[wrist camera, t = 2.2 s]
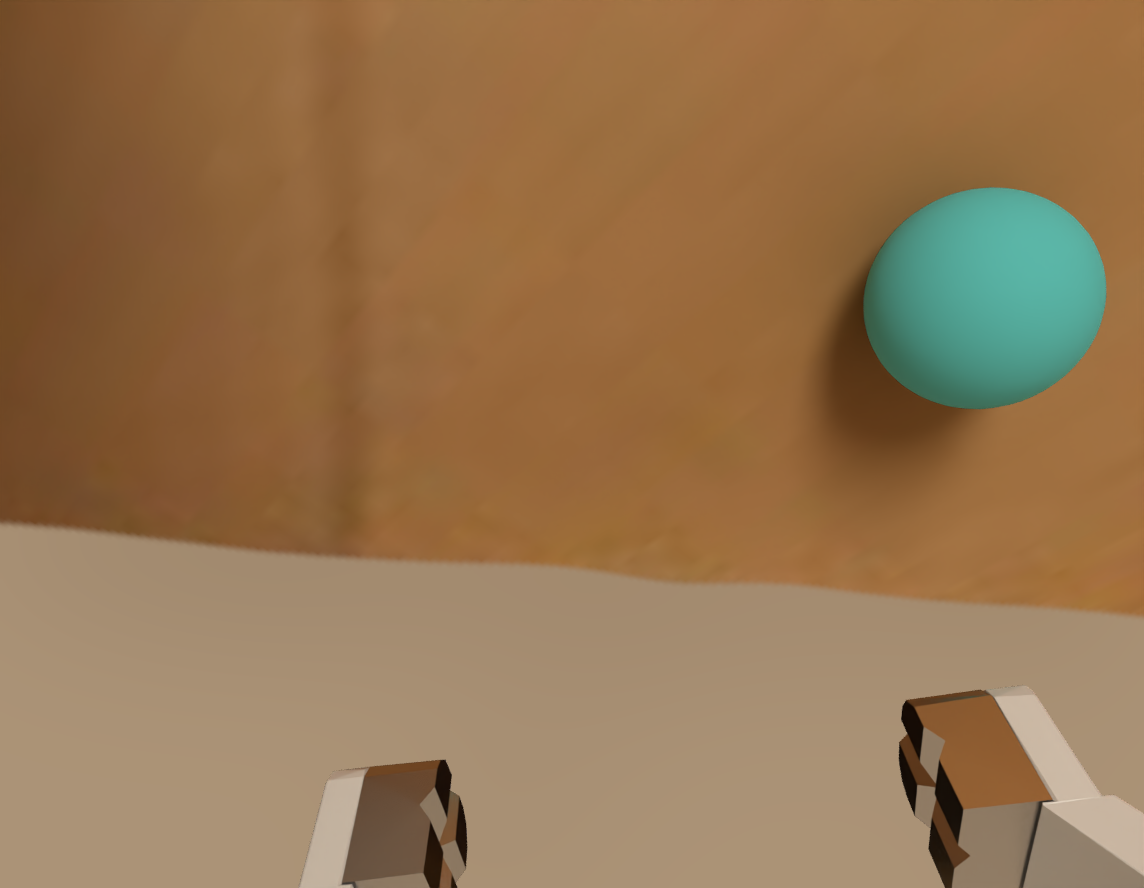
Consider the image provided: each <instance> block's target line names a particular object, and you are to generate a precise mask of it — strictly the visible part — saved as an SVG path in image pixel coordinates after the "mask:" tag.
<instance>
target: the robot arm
mask: <svg viewBox="0 0 1144 888" xmlns="http://www.w3.org/2000/svg"><path fill="white" fill-rule="evenodd" d="M901 720H902V722H903V725H904V727H905V729H906V732H907V735H906V736H905V737H904V738H903V739H902V740H901V741H900V742H899V765H900V771H901V777H902V782H903V785H904V788H905V792H906V795H907V798H908V801H909V803H910V805H911V808H912V811H913V813H914V816H915V817H917V818H918V819H919V820H920V821H922V822H923V823H924V824H926V825H927V826H928V827H929V828H931V830H930V840H929V851H930V854H931V856H932V859H933V861H934V863H935V865H936V868H937V870H938V873H939V875H940V877H941V880H942V882H943V884H944V886H945V888H1144V813H1142V812H1141V811H1139V810H1137V809H1136V808H1134V807H1133V806H1131V805H1130V804H1128V803H1127V802H1125V801H1123V800H1122V799H1120V798H1119V797H1117V796H1116V795H1104V796H1102V795H1101V794H1100V792H1099V791H1098V789H1097V788H1096V786H1095V785H1094V783H1093V782H1092V780H1091V778H1090V777H1089V775H1088V774H1087V772H1086V771H1085V769H1084V768H1083V766H1082V765H1081V763H1080V762H1079V760H1078V759H1077V757H1076V756H1075V754H1074V752H1073V751H1072V749H1071V748H1070V746H1069V745H1068V743H1067V742H1066V740H1065V739H1064V737H1063V736H1062V734H1061V733H1060V732H1059V730H1058V728H1057V726H1056V725H1055V723H1054V722H1053V720H1052V719H1051V717H1050V716H1049V714H1048V713H1047V711H1046V710H1045V708H1044V707H1043V705H1042V704H1041V702H1040V700H1039V699H1038V697H1037V696H1036V694H1035V693H1034V691H1032V690H1031V689H1030V688H1028V687H1027V686H1025V685H1021V686H1013V687H1005V688H998V689H990V690H984V691H982V690H975V691H968V692H961V693H953V694H946V695H939V696H932V697H925V698H918V699H910V700H906V701H905V703H904V704H903V706H902V716H901ZM451 778H452V774H451V772H450V770H449V767H448V765H447V763H446V760H435V761H426V762H414V763H404V764H395V765H383V766H374V767H365V768H355V769H347V770H339V771H333V772H332V774H331V776H330V777H329V779H328V781H327V782H326V785H325V788H324V792H323V796H322V800H321V803H320V808H319V811H318V815H317V819H316V823H315V826H314V830H313V834H312V838H311V842H310V846H309V850H308V854H307V857H306V861H305V865H304V869H303V873H302V876H301V880H300V884H299V888H457V885H456V882H457V880H458V879H459V877H460V876H461V875H462V873H463V872H464V871H465V869H466V859H467V828H466V820H465V814H464V809H463V805H462V803H461V800H460V797H459V796H458V795H457V794H455V793H453V792H452V791H450V788H451Z"/></svg>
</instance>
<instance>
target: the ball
mask: <svg viewBox="0 0 1144 888" xmlns="http://www.w3.org/2000/svg"><path fill="white" fill-rule="evenodd" d="M1105 302H1106V279H1105V272H1104V267H1103V263H1102V260H1101V257H1100V255H1099V252H1098V250H1097V247H1096V245H1095V243H1094V242H1093V240H1092V238H1091V237H1090V235H1089V234H1088V232H1087V231H1086V230H1085V229H1084V228H1083V226H1082V225H1081V224H1080V223H1079V222H1078V221H1077V220H1076V218H1074V217H1073V216H1072V215H1071V214H1069V213H1068V212H1067V211H1066V210H1064V209H1063V208H1061V207H1060V206H1059V205H1057V204H1055V203H1053V202H1051V201H1050V200H1048V199H1045V198H1043V197H1040V196H1038V195H1035V194H1032V193H1029V192H1026V191H1021V190H1015V189H1008V188H991V187H990V188H980V189H972V190H967V191H962V192H958V193H954V194H951V195H948V196H946V197H943V198H941V199H939V200H936V201H934V202H932V203H930V204H928V205H927V206H925V207H923V208H922V209H920V210H919V211H917V212H915V213H914V214H913V215H911V216H910V217H909V218H908V219H906V220H905V221H904V222H903V223H902V224H901V225H900V226H899V227H898V228H897V229H896V230H895V231H894V232H893V233H892V234H891V235H890V237H889V238H888V239H887V240H886V242H885V243H884V245H883V246H882V248H881V249H880V251H879V252H878V254H877V256H876V258H875V260H874V262H873V264H872V267H871V269H870V272H869V275H868V278H867V282H866V286H865V292H864V304H863V308H864V321H865V326H866V331H867V335H868V338H869V340H870V343H871V346H872V348H873V350H874V352H875V353H876V355H877V357H878V359H879V360H880V362H881V363H882V365H883V366H884V367H885V368H886V370H887V371H888V372H889V373H890V374H891V375H892V376H893V377H894V378H895V379H896V380H897V381H898V382H899V383H901V384H902V385H903V386H905V387H906V388H908V389H909V390H911V391H912V392H914V393H916V394H917V395H919V396H921V397H923V398H925V399H928V400H930V401H933V402H936V403H939V404H943V405H946V406H951V407H957V408H966V409H986V408H995V407H1000V406H1005V405H1010V404H1014V403H1017V402H1020V401H1023V400H1025V399H1028V398H1030V397H1033V396H1035V395H1037V394H1038V393H1040V392H1042V391H1044V390H1046V389H1047V388H1049V387H1050V386H1052V385H1053V384H1055V383H1056V382H1058V381H1059V380H1060V379H1061V378H1063V377H1064V376H1065V375H1066V374H1067V373H1068V372H1069V371H1070V370H1071V369H1072V368H1073V367H1074V366H1075V365H1076V364H1077V363H1078V362H1079V361H1080V359H1081V358H1082V357H1083V356H1084V354H1085V353H1086V351H1087V350H1088V349H1089V347H1090V346H1091V344H1092V342H1093V340H1094V338H1095V336H1096V334H1097V332H1098V329H1099V327H1100V324H1101V320H1102V317H1103V313H1104V308H1105Z"/></svg>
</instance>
